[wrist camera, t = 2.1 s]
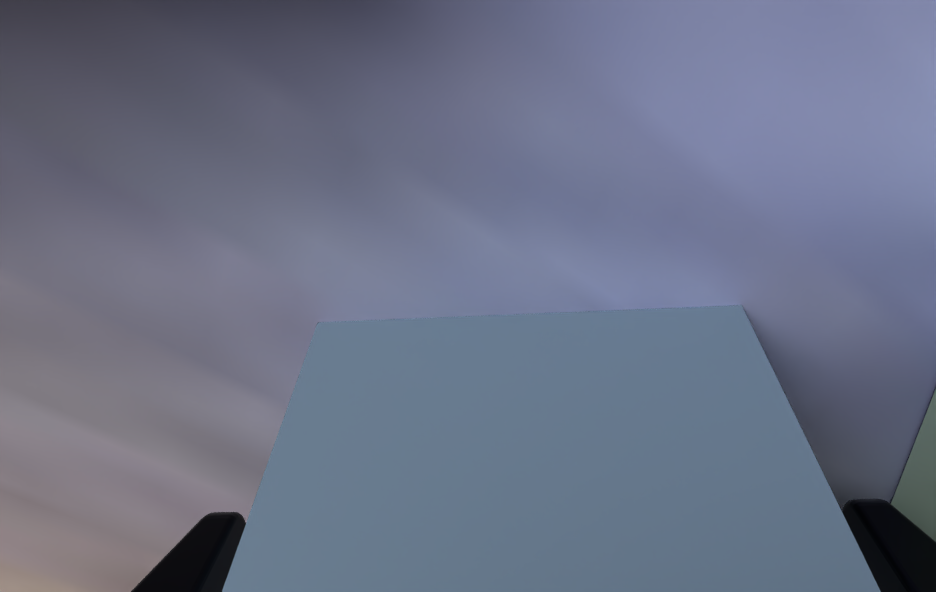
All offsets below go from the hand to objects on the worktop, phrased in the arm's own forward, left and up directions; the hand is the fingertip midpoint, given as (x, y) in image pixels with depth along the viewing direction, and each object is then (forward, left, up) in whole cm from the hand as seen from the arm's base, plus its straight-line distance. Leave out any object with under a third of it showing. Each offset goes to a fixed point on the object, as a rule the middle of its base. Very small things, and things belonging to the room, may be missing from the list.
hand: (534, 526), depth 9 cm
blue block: (0, 0, -1) cm, 1 cm away
